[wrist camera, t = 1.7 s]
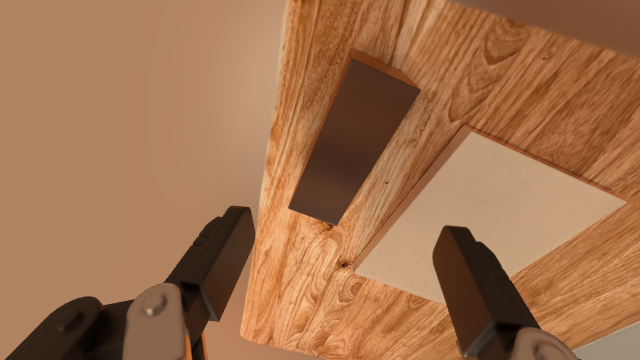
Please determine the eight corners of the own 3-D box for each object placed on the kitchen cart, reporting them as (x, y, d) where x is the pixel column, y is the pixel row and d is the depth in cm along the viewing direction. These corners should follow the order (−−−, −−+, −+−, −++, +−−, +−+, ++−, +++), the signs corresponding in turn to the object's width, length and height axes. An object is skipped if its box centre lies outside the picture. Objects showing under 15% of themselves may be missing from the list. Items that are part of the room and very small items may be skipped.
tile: (463, 123, 18) (471, 131, 17) (612, 191, 20) (628, 202, 19) (352, 262, 30) (352, 273, 28) (454, 299, 31) (458, 310, 30)
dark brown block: (351, 47, 16) (351, 57, 12) (401, 70, 17) (422, 90, 12) (302, 168, 23) (287, 208, 18) (339, 183, 23) (336, 226, 18)
